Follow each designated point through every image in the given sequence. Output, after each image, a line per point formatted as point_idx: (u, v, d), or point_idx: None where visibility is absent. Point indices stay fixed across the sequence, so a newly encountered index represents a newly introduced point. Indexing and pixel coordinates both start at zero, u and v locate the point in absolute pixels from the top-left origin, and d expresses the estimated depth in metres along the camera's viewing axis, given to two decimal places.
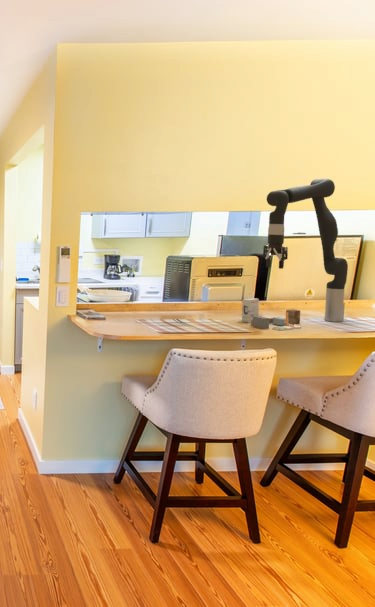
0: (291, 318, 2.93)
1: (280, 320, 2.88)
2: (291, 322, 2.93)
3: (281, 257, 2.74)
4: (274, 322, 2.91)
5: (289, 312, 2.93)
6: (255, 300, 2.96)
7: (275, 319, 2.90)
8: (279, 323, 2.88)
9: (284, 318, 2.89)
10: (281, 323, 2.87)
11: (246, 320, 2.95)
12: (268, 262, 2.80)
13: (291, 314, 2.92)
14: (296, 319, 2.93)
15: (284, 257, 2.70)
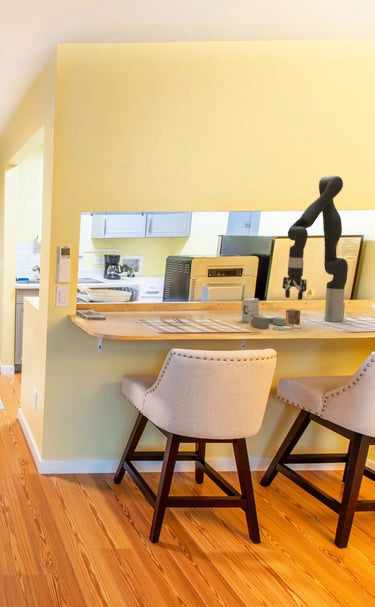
0: (291, 318, 2.93)
1: (280, 320, 2.88)
2: (291, 322, 2.93)
3: (300, 289, 2.90)
4: (274, 322, 2.91)
5: (289, 312, 2.93)
6: (255, 300, 2.96)
7: (275, 319, 2.90)
8: (279, 323, 2.88)
9: (284, 318, 2.89)
10: (281, 323, 2.87)
11: (246, 320, 2.95)
12: (287, 293, 2.96)
13: (291, 314, 2.92)
14: (296, 319, 2.93)
15: (303, 289, 2.87)
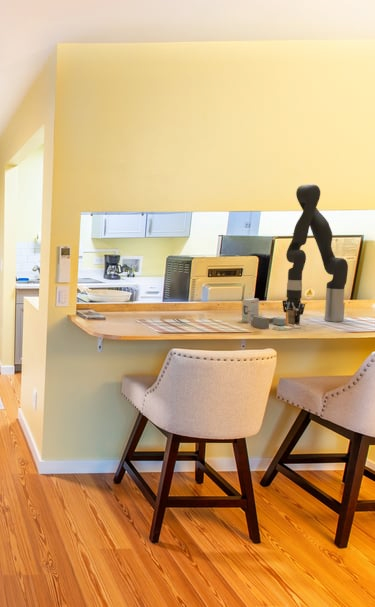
0: (291, 318, 2.93)
1: (280, 320, 2.88)
2: (291, 322, 2.92)
3: None
4: (274, 322, 2.91)
5: (289, 312, 2.93)
6: (255, 300, 2.96)
7: (275, 319, 2.90)
8: (279, 323, 2.88)
9: (284, 318, 2.89)
10: (281, 323, 2.87)
11: (246, 320, 2.95)
12: None
13: (291, 314, 2.92)
14: None
15: (300, 313, 2.90)
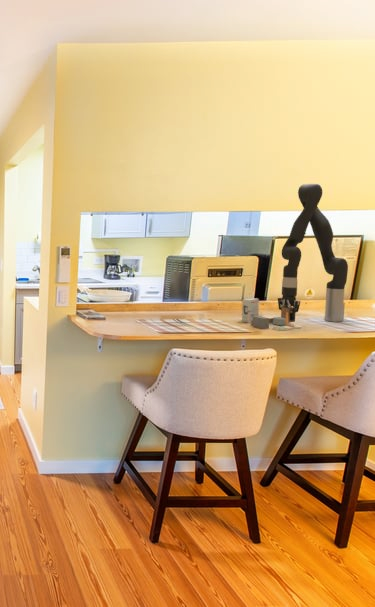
0: None
1: (280, 320, 2.88)
2: None
3: None
4: (274, 322, 2.91)
5: (284, 309, 2.91)
6: (255, 300, 2.96)
7: (275, 319, 2.90)
8: (279, 323, 2.88)
9: (284, 318, 2.89)
10: (281, 323, 2.87)
11: (246, 320, 2.95)
12: None
13: (286, 311, 2.90)
14: None
15: (295, 310, 2.87)
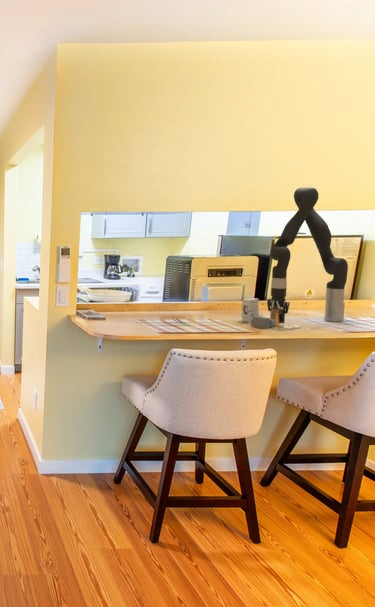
0: (275, 317, 2.86)
1: (270, 321, 2.84)
2: None
3: None
4: None
5: (274, 311, 2.87)
6: (255, 300, 2.96)
7: None
8: (269, 324, 2.84)
9: (274, 319, 2.85)
10: (271, 324, 2.83)
11: (246, 320, 2.95)
12: None
13: None
14: None
15: (284, 311, 2.83)
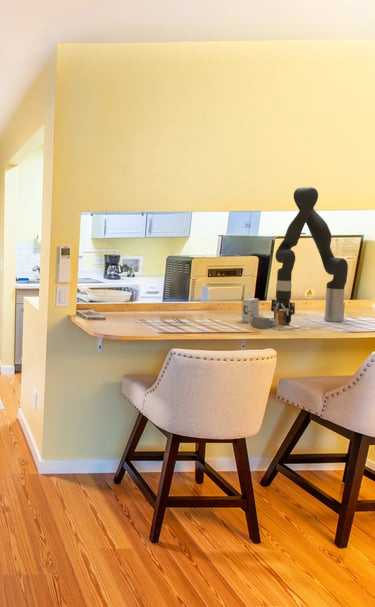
0: (280, 319, 2.88)
1: (270, 321, 2.84)
2: (280, 323, 2.88)
3: None
4: None
5: (278, 313, 2.89)
6: (255, 300, 2.96)
7: None
8: (269, 324, 2.84)
9: (274, 319, 2.85)
10: (271, 324, 2.83)
11: (246, 320, 2.95)
12: None
13: (280, 315, 2.88)
14: (285, 321, 2.89)
15: (291, 312, 2.84)
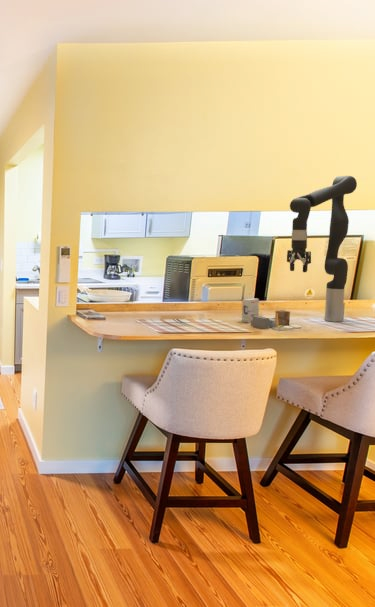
0: (280, 319, 2.88)
1: (270, 321, 2.84)
2: (280, 323, 2.88)
3: None
4: None
5: (278, 313, 2.89)
6: (255, 300, 2.96)
7: None
8: (269, 324, 2.84)
9: (274, 319, 2.85)
10: (271, 324, 2.83)
11: (246, 320, 2.95)
12: (292, 266, 2.93)
13: (280, 315, 2.88)
14: (285, 321, 2.89)
15: (308, 261, 2.84)
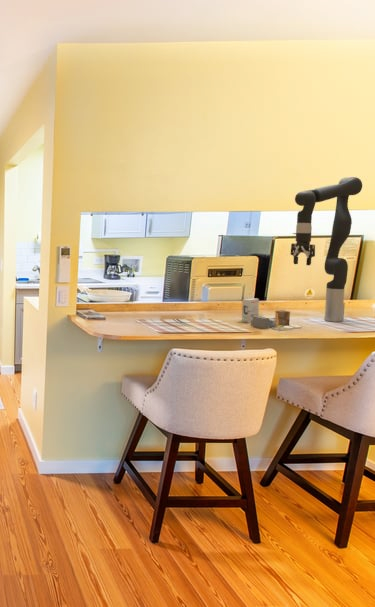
0: (280, 319, 2.88)
1: (270, 321, 2.84)
2: (280, 323, 2.88)
3: None
4: None
5: (278, 313, 2.89)
6: (255, 300, 2.96)
7: None
8: (269, 324, 2.84)
9: (274, 319, 2.85)
10: (271, 324, 2.83)
11: (246, 320, 2.95)
12: (296, 259, 2.94)
13: (280, 315, 2.88)
14: (285, 321, 2.89)
15: (312, 254, 2.84)
